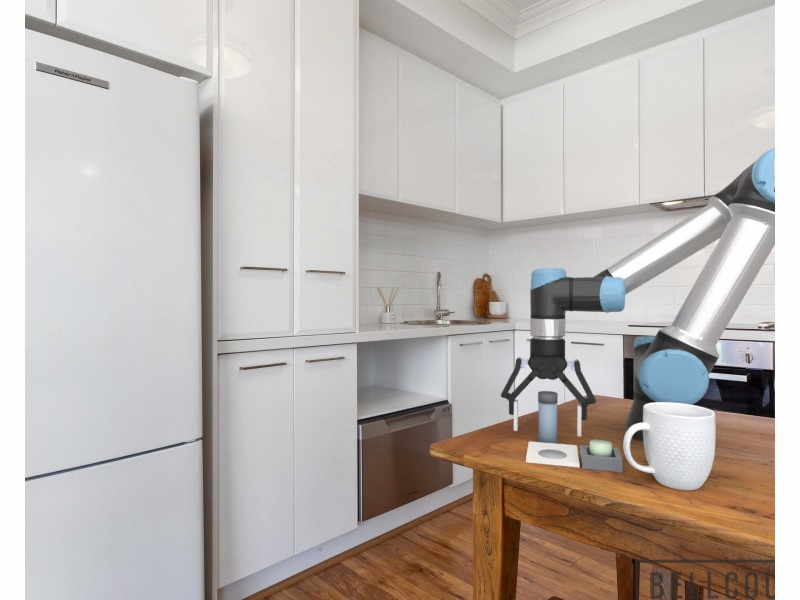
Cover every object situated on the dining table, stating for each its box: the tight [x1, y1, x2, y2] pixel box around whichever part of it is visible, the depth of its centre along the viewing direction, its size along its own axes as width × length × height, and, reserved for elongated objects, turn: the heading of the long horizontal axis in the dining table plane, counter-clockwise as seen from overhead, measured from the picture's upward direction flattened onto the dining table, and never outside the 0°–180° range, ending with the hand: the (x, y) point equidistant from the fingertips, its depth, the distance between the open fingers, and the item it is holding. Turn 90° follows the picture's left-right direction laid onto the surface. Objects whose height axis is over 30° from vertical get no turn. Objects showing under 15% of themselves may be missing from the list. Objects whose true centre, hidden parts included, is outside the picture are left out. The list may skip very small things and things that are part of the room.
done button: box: [589, 439, 613, 457], centre depth 95 cm, size 4×4×3 cm
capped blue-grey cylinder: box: [537, 390, 559, 444], centre depth 109 cm, size 4×4×11 cm
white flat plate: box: [525, 440, 581, 468], centre depth 100 cm, size 10×12×1 cm
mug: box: [622, 402, 717, 491], centre depth 85 cm, size 15×11×13 cm
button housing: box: [580, 444, 624, 474], centre depth 95 cm, size 7×7×2 cm
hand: (546, 431), depth 109 cm, fingers open, 13 cm apart
